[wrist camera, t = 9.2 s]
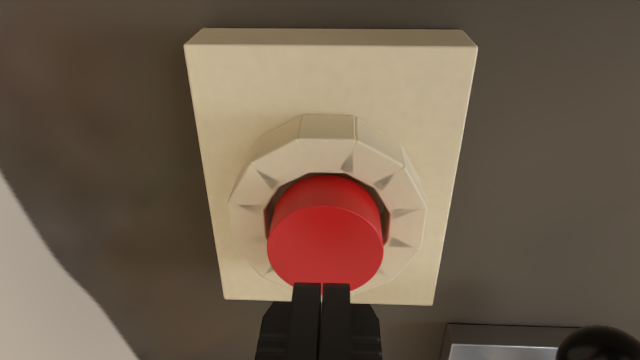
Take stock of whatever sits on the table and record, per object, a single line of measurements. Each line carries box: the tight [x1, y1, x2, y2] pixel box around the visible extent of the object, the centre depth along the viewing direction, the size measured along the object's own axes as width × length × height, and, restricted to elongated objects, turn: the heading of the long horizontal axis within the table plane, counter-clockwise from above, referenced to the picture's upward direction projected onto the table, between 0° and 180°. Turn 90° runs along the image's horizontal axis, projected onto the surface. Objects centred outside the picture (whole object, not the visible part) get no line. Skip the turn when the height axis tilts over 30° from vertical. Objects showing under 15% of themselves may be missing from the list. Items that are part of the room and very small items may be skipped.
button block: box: [184, 28, 478, 305], centre depth 17 cm, size 11×9×4 cm
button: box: [267, 175, 384, 295], centre depth 15 cm, size 4×4×2 cm
